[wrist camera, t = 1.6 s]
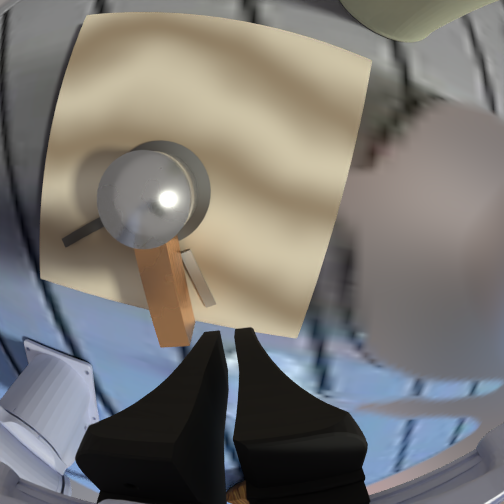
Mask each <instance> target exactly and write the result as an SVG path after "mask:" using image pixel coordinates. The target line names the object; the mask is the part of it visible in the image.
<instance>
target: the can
mask: <svg viewBox="0 0 504 504" xmlns="http://www.w3.org/2000/svg"><path fill="white" fill-rule="evenodd" d="M495 1H498V0H340V2H341V3H342V5H343V6H344V7H345V8H346V9H347V11H348V12H349V13H350V14H351V15H352V16H353V17H354V18H356V19H357V20H358V21H359V22H360V23H362V24H363V25H365V26H366V27H367V28H369V29H371V30H372V31H374V32H376V33H378V34H380V35H382V36H384V37H386V38H389V39H392V40H396V41H400V42H417V41H420V40H422V39H424V38H426V37H427V36H428V35H429V34H430V33H431V32H433V31H435V30H436V29H438V28H440V27H442V26H444V25H445V24H447V23H449V22H451V21H453V20H455V19H457V18H459V17H461V16H463V15H466V14H468V13H470V12H472V11H474V10H476V9H478V8H481V7H483V6H486V5H488V4H490V3H493V2H495Z"/></svg>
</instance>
